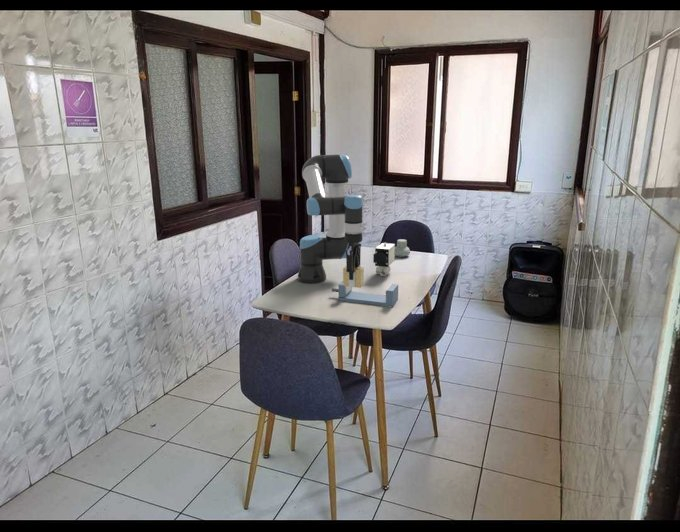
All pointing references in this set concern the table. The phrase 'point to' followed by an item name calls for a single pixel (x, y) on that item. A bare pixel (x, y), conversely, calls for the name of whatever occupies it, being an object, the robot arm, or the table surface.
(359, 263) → the robot arm
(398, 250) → the air freshener
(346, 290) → the free jaw
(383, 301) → the vise
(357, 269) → the wooden block
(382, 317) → the table surface
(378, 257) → the white pneumatic actuator
